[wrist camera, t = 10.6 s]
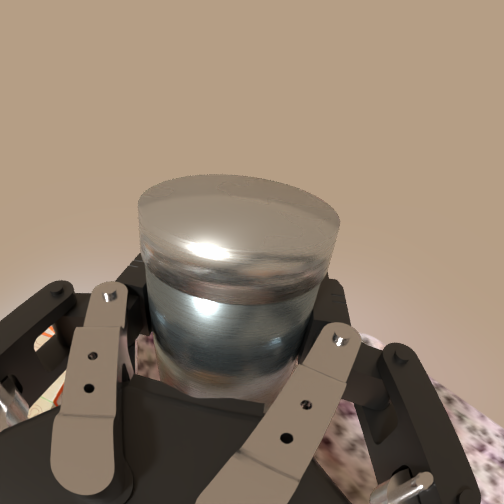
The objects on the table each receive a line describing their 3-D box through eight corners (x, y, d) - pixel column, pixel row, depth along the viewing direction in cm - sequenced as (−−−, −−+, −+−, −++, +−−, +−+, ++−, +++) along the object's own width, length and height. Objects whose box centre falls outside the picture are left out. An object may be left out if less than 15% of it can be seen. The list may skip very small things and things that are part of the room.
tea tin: (282, 367, 15) (327, 189, 11) (273, 459, 10) (357, 269, 6) (182, 348, 16) (180, 168, 11) (147, 432, 11) (96, 225, 6)
